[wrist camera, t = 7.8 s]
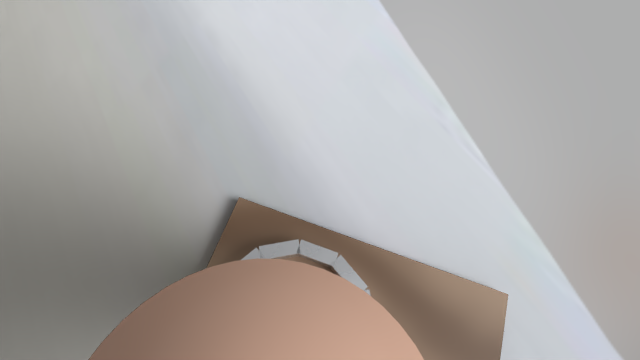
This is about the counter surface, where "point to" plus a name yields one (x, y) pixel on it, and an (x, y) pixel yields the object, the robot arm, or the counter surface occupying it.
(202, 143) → the counter surface
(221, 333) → the beige rounded cylinder
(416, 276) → the walnut board
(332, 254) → the steel collar
